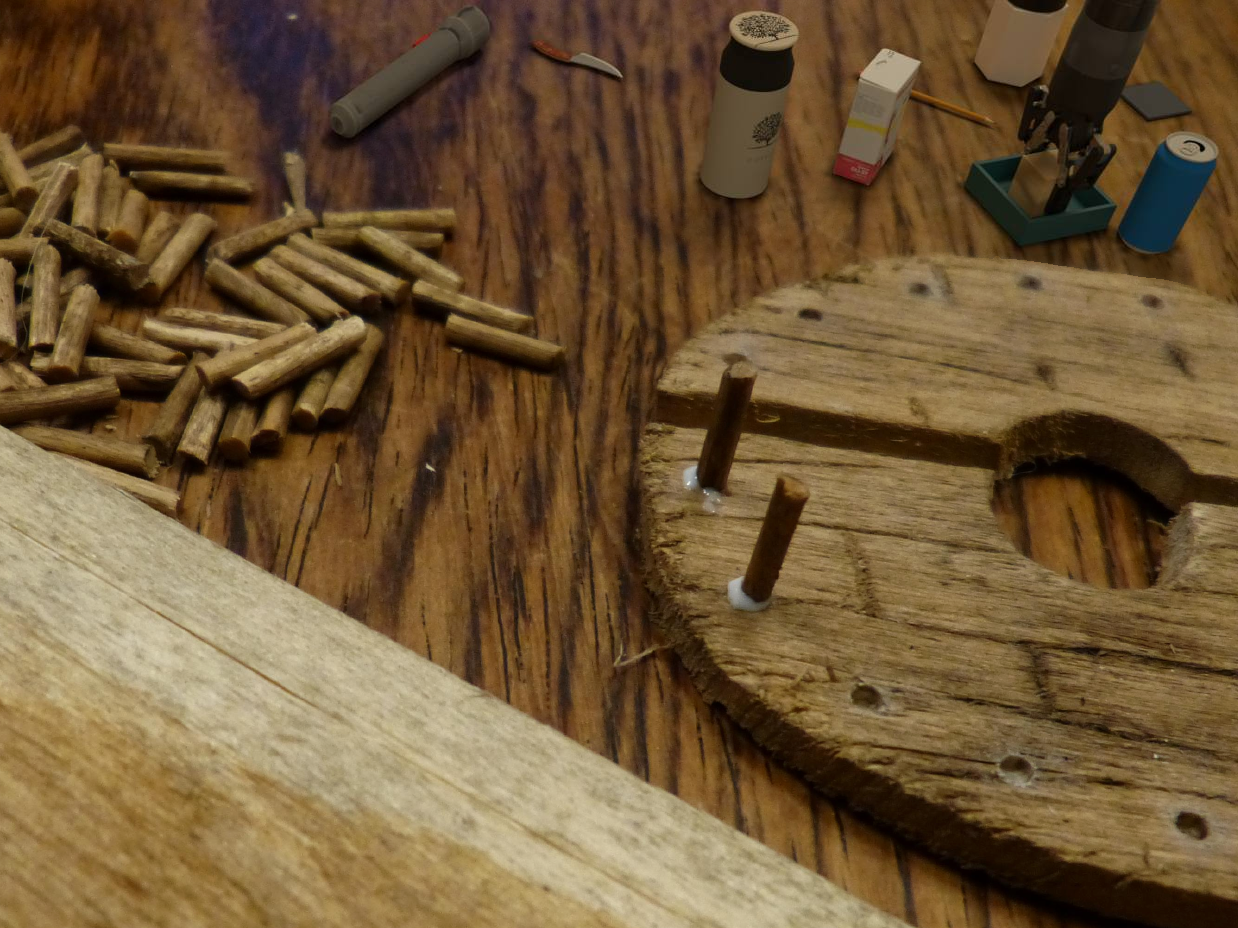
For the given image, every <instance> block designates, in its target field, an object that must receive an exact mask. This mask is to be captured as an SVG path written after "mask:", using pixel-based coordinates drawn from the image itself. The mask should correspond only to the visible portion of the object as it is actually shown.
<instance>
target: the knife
mask: <svg viewBox="0 0 1238 928" xmlns="http://www.w3.org/2000/svg"><path fill="white" fill-rule="evenodd" d="M532 46H533V48H535V50H537V51H538V52H539V53H542V54H543V55H544V56H547V57H550V58H551V59H555V60H557V61H560V62H564V63H569V64H570V63H573V64H574V63H575V64H578V65H583V66H586V67H589V68H594V69H597V70H599V71H603V72H605V73H608V74H611V75H613V76H615V77H618V78H621V79H624V78H623V75H622V74H621V72H620V71H619V69H617V68H616V67H615V66H613V65H612V64H610V63H609V62H606V61H604V60H603V59H600V58H598V57H596V56H593V55H591V54H588V53H585V52H580V53H579V54H576V55H573V54H572V53H568V52H565V51H562V50H559V49H557V48H554V47H553V46H551V45H550V44H549V43H547V42H546V41H545V40H543V39H538V40H534V41H532Z"/></svg>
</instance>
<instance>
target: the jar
mask: <svg viewBox="0 0 1238 928" xmlns="http://www.w3.org/2000/svg"><path fill="white" fill-rule="evenodd" d="M1068 9H1069V4H1068V0H994V1H993V5H992V8H991V11H990V13H989V17H988V18H987V22H986V25H985V28H984V29H983V33H982V37H981V40H980V42H979V45H978V48H977V51H976V53H975V57H974V58H973V59H974V60H973V62H974V63H975V65H976V66H977V68H978V69H979V70H980V72H981V73H982V74H983V76H984V77H985V78H986V80H988V81H992V82H996V83H1000V84H1005V85H1010V86H1014V87H1018V88H1022V87H1024V86H1026V85H1028V84H1029V83H1031V82H1033V81H1035V80H1036V79H1038V78H1041V77H1042V75H1043V72H1044V69H1045V67H1046V66H1047V65H1046V64H1047V62H1048V60H1049V57H1050V55H1051V52H1052V49H1053V48H1054V45H1055V43H1056V40H1057V37H1058V35H1059V32H1060V30H1061V26H1062V25H1063V22H1064V19H1065V17H1066V14H1067V11H1068Z"/></svg>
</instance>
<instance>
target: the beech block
mask: <svg viewBox="0 0 1238 928" xmlns="http://www.w3.org/2000/svg"><path fill="white" fill-rule="evenodd" d="M1057 157H1058V149H1055V150H1050V151H1044V152H1039V153H1033V154H1028V155H1023V156H1022V159H1021V161H1020V164H1019V166H1018V169H1017V171H1016V174H1015V176H1014V179H1013V181H1012V183H1011V186H1010V188H1009V191H1008V193H1007V194H1008V195H1009V196H1010V197H1011V198H1012V199H1013V200H1014V201H1015V202H1016V203H1017V204H1018V205H1019V206H1020V208H1021V209H1022V210H1023V211H1024V212H1025V213H1026V214H1027V215H1028V216H1029V217H1030V218H1034V217H1039V216H1044V215H1048V214H1047V213H1046V212H1045V211H1044V209H1045V207H1046V205H1047V202H1048V200H1049V198H1050V195H1051V193H1052V191H1053V189H1054V186H1055V184H1057V182H1058V175H1059V168H1060V167H1059V165H1057ZM1073 167H1074V166H1071V168H1070V173H1069V175H1072V173H1073ZM1073 194H1074V193H1073ZM1072 196H1073V195H1072ZM1071 198H1072V197H1071ZM1070 200H1071V199H1070ZM1069 203H1070V201H1069ZM1068 205H1069V204H1068ZM1067 207H1068V206H1067ZM1066 209H1067V208H1066ZM1066 209H1065V210H1064V211H1066ZM1064 211H1063V212H1064Z"/></svg>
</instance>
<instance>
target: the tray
mask: <svg viewBox="0 0 1238 928" xmlns="http://www.w3.org/2000/svg"><path fill="white" fill-rule="evenodd" d="M1055 149H1057V147H1056V146H1055V147H1049V148H1048V149H1047V150H1046V151H1050V150H1055ZM1023 155H1025V152H1022V153H1017V154H1012V155H1006V156H1001V157H995V158H989V159H983V160H977V161H973V162H972V163H971V166H970V170H969V171H968V174H967V176H966V180H965V182H964V184H963V186H964V188H966V189H967V191H968V192H969V193H970V194H971V195H972V196H973V197H974V198H975V199H976V200H977V201H978V202H979V204H980V205H981V206H982V207H983V208H984V209H985V210H986V211H987V212H988V213H989V215H990V216H991V217H992V218H993V219H994V220H995V221H996V222H997V223H998V224H999V225H1000V227H1002V228H1003V230H1004V231H1005V232H1006V233H1007V234H1008V235H1009V236H1010V237H1011V239H1013V241H1014V242H1015V243H1017V245H1018V246H1019V247H1021V246H1022V247H1023V246H1027V245H1033V244H1037V243H1042V242H1047V241H1051V240H1052V241H1053V240H1056V239H1062V238H1066V237H1072V236H1076V235H1081V234H1086V233H1090V232H1097V231H1100V230H1101V231H1102V230H1106V229H1107V228H1108V226H1109V224H1110V222H1111V220H1112V218H1113V216H1114V214H1115V212H1116V210H1117V208H1118V204H1117V203H1116V202H1115V201H1114V200H1113V199H1111V197H1110V196H1109V195H1108V194H1106V192H1105V191H1103V189H1101V187H1099V185H1098V184H1096V183H1095V184H1094V186H1093V187H1092V188H1091V189H1086V190H1081V191H1075V192H1074V194H1073V196H1072V198H1071V200H1070V203H1069V205H1068V207H1067V209H1066V211H1064V212H1061V213H1058V214H1053V215H1044V216H1039V217H1034V218H1030V217H1029V216H1028V215H1027V214H1026V213H1025V212H1024V211H1023V210H1022V209H1021V208H1020V206H1019V205H1018V204H1017V203H1016V202H1015V201H1014V200H1013V199H1012V198H1011V197H1010V196H1009V195H1008V194H1007V193H1008V191H1009V188H1010V186H1011V183H1012V181H1013V179H1014V176H1015V174H1016V171H1017V169H1018V166H1019V164H1020V161H1021V159H1022V156H1023Z"/></svg>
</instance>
